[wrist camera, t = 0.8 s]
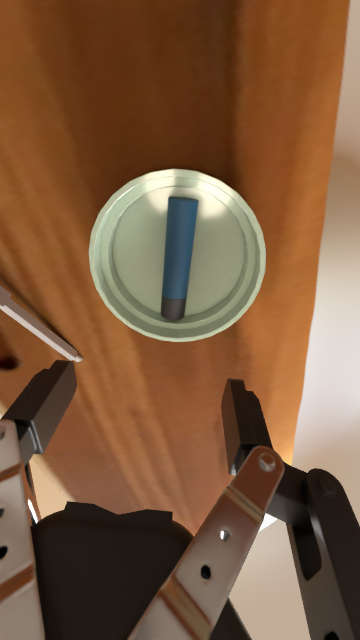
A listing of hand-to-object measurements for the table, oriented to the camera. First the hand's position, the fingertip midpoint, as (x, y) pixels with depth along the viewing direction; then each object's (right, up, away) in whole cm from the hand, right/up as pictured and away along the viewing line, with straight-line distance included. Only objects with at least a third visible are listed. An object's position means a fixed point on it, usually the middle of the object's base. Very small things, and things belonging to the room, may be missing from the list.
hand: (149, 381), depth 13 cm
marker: (+1, +11, +18) cm, 21 cm away
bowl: (+1, +11, +18) cm, 22 cm away
